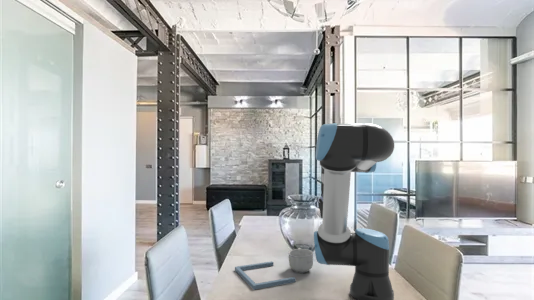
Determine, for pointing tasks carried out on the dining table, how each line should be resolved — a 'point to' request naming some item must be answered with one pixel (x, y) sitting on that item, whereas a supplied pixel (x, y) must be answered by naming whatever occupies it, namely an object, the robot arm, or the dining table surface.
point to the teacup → (300, 260)
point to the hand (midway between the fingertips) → (328, 233)
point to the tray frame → (263, 284)
